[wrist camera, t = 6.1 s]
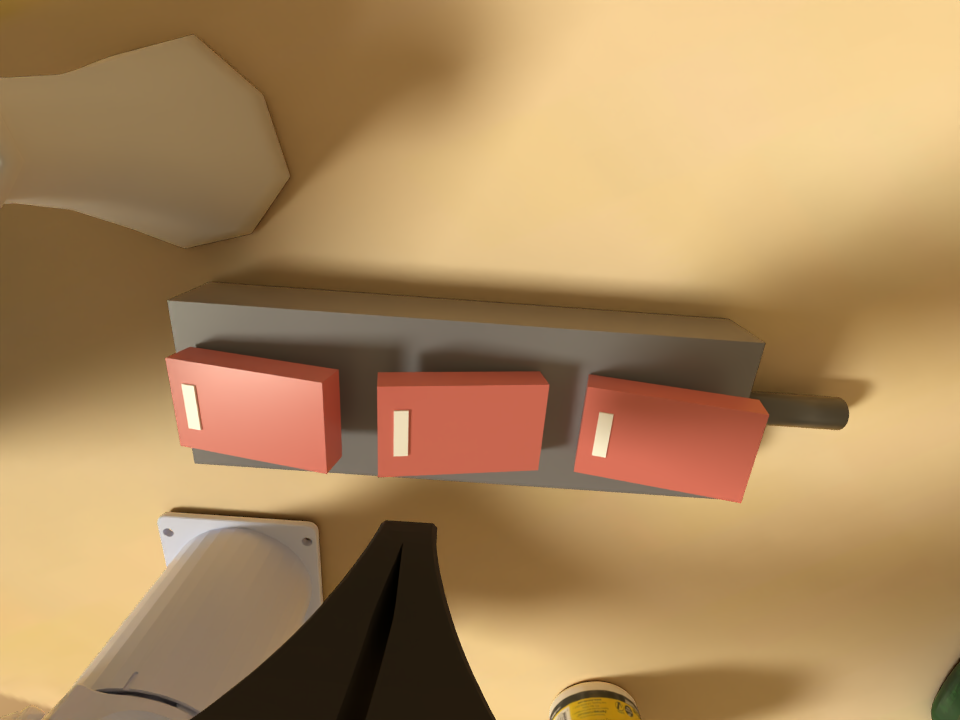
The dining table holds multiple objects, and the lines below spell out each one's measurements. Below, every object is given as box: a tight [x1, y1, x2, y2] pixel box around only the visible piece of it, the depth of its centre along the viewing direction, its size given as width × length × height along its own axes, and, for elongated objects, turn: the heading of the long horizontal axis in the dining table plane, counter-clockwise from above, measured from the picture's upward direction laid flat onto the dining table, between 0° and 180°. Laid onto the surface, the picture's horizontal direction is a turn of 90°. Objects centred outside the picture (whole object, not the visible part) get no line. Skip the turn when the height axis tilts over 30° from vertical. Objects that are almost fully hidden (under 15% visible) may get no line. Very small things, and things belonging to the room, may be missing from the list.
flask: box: [0, 34, 290, 248], centre depth 15 cm, size 7×7×10 cm
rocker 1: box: [165, 347, 342, 474], centre depth 18 cm, size 4×6×1 cm, turn 86°
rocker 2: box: [377, 371, 549, 477], centre depth 18 cm, size 4×6×1 cm, turn 86°
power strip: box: [167, 282, 849, 499], centre depth 21 cm, size 7×27×3 cm, turn 86°
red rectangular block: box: [574, 374, 769, 503], centre depth 18 cm, size 4×6×1 cm, turn 86°
